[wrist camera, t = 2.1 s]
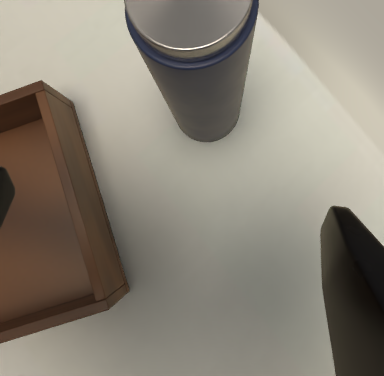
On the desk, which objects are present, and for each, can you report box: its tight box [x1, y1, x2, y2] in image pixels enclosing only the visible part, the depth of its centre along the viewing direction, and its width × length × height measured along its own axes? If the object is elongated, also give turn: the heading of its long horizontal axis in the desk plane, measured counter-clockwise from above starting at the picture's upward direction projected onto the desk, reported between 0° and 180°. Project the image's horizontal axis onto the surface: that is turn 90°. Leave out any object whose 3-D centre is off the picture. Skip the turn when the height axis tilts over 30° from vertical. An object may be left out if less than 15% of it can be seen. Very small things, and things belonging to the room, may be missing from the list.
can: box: [124, 0, 259, 142], centre depth 16 cm, size 4×4×12 cm
